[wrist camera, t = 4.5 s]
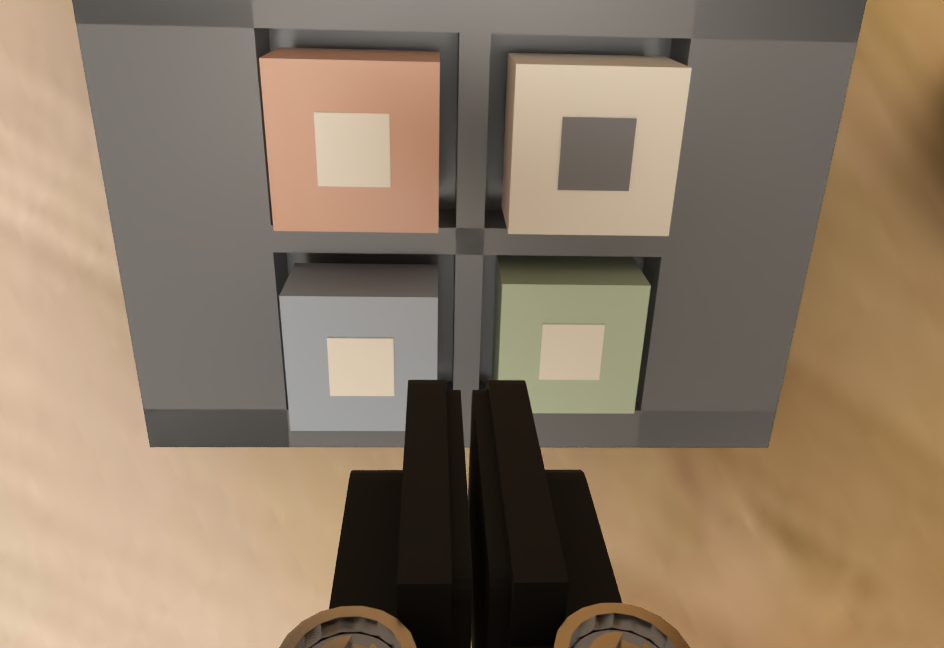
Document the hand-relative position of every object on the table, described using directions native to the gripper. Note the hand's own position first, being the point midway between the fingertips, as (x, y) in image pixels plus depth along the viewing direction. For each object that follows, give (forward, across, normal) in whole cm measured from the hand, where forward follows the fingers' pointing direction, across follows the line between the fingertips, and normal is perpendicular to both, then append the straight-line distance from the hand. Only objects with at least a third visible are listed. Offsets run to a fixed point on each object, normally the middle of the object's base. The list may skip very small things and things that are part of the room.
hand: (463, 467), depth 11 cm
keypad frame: (+14, -1, +1) cm, 14 cm away
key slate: (+12, +2, +4) cm, 13 cm away
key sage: (+13, -4, +4) cm, 14 cm away
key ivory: (+12, -4, -2) cm, 13 cm away
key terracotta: (+12, +2, -2) cm, 13 cm away
